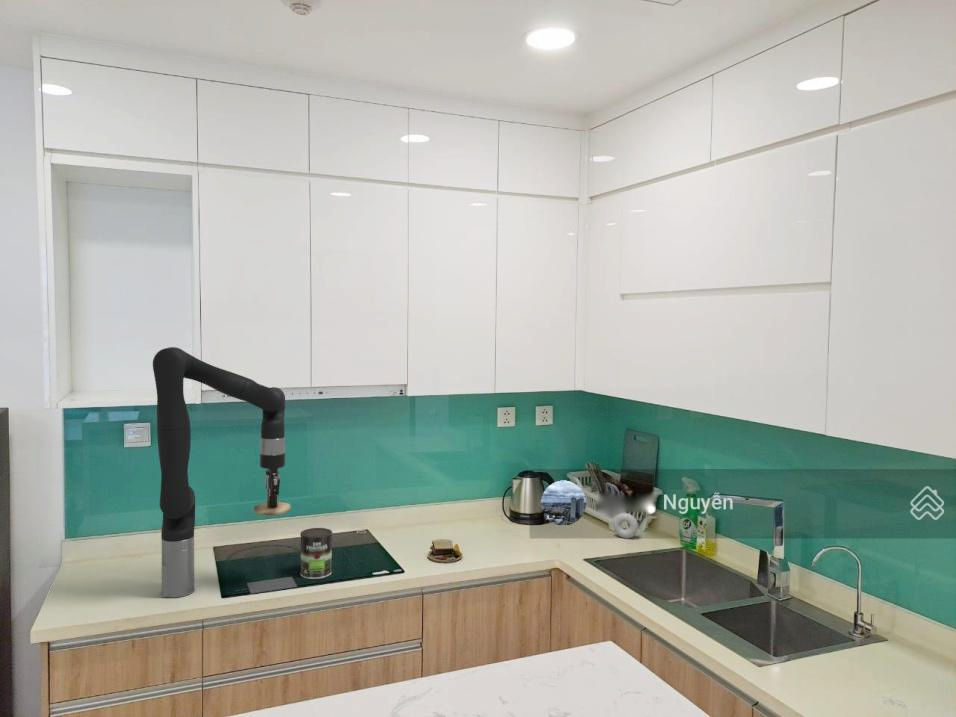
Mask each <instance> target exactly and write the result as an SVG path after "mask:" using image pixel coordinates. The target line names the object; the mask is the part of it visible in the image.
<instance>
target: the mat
mask: <svg viewBox="0 0 956 717" xmlns="http://www.w3.org/2000/svg"><path fill="white" fill-rule="evenodd" d="M246 584H247V587H248V590H249V593H250V594H258V593H264V592H270V591H279V590H284V589H291V588H297V587H298V585H297V583H296V582H295V580H294V578H293V576H288V577H287V576H285V577H280V578H273V579H267V580H264V579H263V580H260V581H253V582H252V581H251V582H246Z"/></svg>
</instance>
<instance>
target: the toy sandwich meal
mask: <svg viewBox="0 0 956 717" xmlns="http://www.w3.org/2000/svg"><path fill="white" fill-rule="evenodd" d="M431 544H432V545H430V547H429V549H430V550H431V551H429V552H428V553H427V557H428V558H429V559H430V560H431V561H433V562H435V563H441V564H446V563H447V564H449V563H455V562H458V561H459V560H461V558H463V553H462V552H461V550H460V547H459V545H458V543H455V544H454V545H453V541H452V540H450V539H445V538H444V539H442V538H441V539H434V540H432V541H431Z"/></svg>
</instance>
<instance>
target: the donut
mask: <svg viewBox="0 0 956 717" xmlns="http://www.w3.org/2000/svg"><path fill="white" fill-rule="evenodd" d="M624 522H625V523H628V526H629V527H628V528H627V529H625V528H624V527H623V525H622V523H624ZM612 527H613V531H614V532H615V533H616V534H617V536H619V537H621V538H624V539H630V538H632V537H633V538H634V536H635V535H636V534H637V532H638V530H639V523H638V520H637V519H636V517H635V516H634V515H632V514H631V513H628V512H621V513H618V514H617V515H616V516H615V517H614V519H613V522H612Z"/></svg>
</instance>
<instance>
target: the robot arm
mask: <svg viewBox="0 0 956 717" xmlns="http://www.w3.org/2000/svg"><path fill="white" fill-rule="evenodd" d="M152 371H153V375H154V382H155V388H156V433H157V434H156V438H157V449H158V458H159V464H160V465H159V466H160V472H161V474H160V476H161V477H160V478H161V482H160V496H159V508H160V511H161V513H162V525H161V530H160V531H161V533H160V534H161V536H160V538H161V598H181V597H185V596H188V595H190V594H193V592H195V590H196V589H195V588H196V587H195V583H196V582H195V528H196V527H195V526H196V496H195V491H194V489H193V488H192V487H191V486H190V484H189V483H190V482H189V474H188V472H189V471H188V469H189V461H190V455H191V441H192V437H191V436H192V433H191V432H192V431H191V419H190V415H189V410H188V408H187V403H186V400H185V393H184V381H185V380H184V379H187V380H192V381H196V382H198V383H201V384H203V385H205V386H208V387H209V388H212V389H213V390H216V391H218V392H219V393H221V394H224V395H227V396H229V397H232V398H234V399H237V400H240V401H242V402H247V403H249V404H251V405H253V406H255V407H257V408H259V409H262V420H261V423H260V444H259V467H260V468H261V469H265V471H264V477H265V489H266V493H267V494H268V493H269V507H270V508H276V507H277V496H278V497H279V494H280V484H281V479H280V478H281V474H280V472H279V470H278V469H280V468H283V467H285V465H286V441H285V411H286V410H285V409H286V394H285V392H284V391H283V390H282V389H281V388H279V387H273V386H271V387H268V386H265V385H263V384H260V383H258V382H256V381H255V380H253V379H252V378H248V377H246V376H244V375H240V374H238V373H235V372H232V371H229V370H226V369H223V368H220V367H217V366H214V365H212V364H210V363H208V362H206V361H203V360H201V359H199V358H196V357H195V356H193V355H191V354H190V353H188V352H187V351H184V350H183V349H181V348H179V347H177V346H176V347H175V346H169V347H166V348H162V349H160V350H158V351H157V352H156V353H155V355H154V357H153V360H152Z"/></svg>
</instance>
